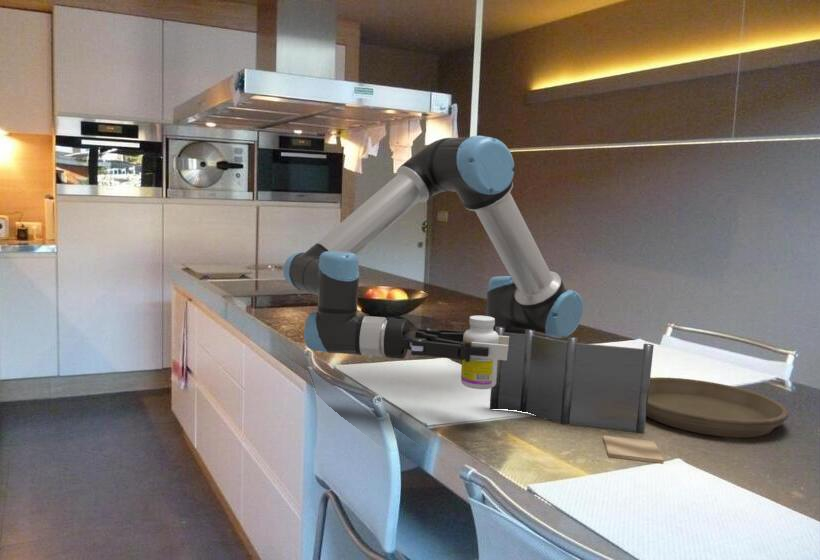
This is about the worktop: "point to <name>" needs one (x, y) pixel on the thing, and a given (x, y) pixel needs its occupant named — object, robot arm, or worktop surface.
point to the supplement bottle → (479, 369)
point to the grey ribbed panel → (574, 381)
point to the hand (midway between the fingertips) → (507, 348)
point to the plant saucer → (712, 408)
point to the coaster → (632, 449)
